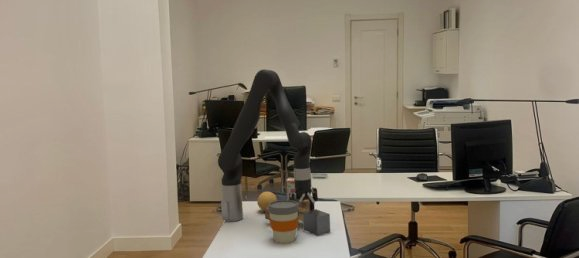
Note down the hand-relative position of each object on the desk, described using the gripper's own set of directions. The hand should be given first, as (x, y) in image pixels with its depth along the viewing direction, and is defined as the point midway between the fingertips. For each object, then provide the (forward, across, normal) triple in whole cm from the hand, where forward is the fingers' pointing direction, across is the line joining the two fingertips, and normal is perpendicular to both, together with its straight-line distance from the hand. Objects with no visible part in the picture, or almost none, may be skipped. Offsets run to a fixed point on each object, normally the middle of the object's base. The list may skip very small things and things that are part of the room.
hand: (304, 213), depth 209 cm
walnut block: (+6, 0, -12) cm, 13 cm away
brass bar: (+3, 0, +3) cm, 4 cm away
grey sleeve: (+6, 0, +9) cm, 11 cm away
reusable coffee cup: (+6, +16, +8) cm, 19 cm away
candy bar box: (+6, -11, -19) cm, 23 cm away
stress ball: (+6, 0, -30) cm, 31 cm away
